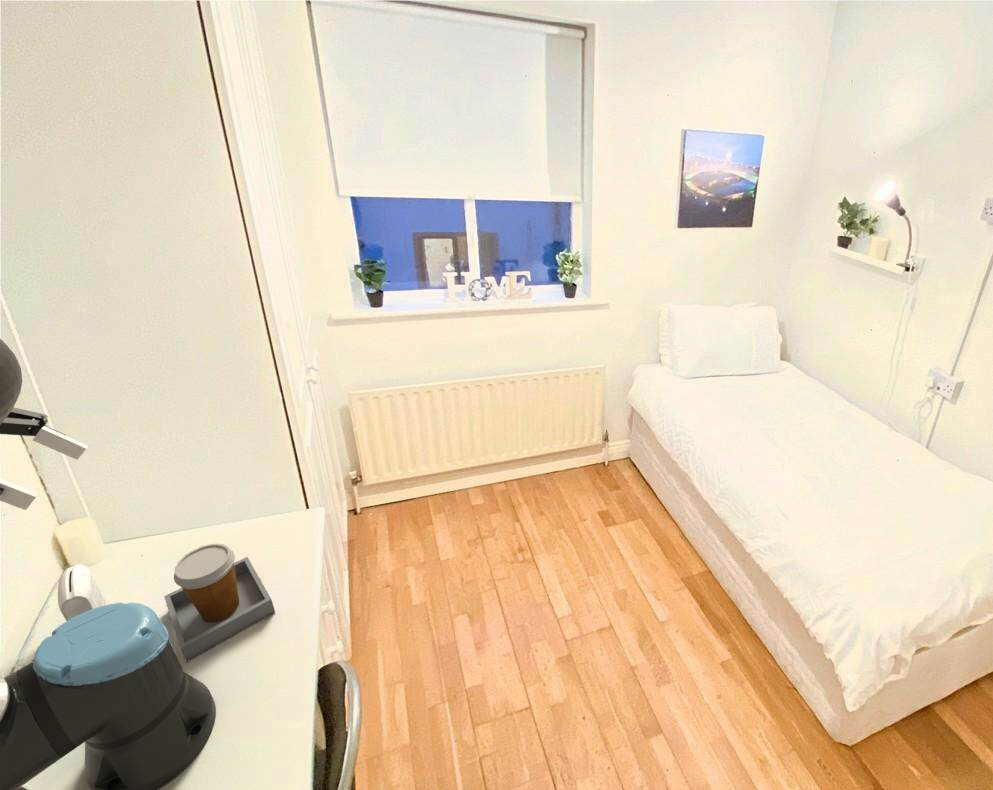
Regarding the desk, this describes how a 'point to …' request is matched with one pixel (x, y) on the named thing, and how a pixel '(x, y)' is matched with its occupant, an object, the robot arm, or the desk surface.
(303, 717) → the desk surface
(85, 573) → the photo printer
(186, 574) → the disposable coffee cup
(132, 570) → the desk surface
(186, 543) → the desk surface
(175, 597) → the charcoal tray
